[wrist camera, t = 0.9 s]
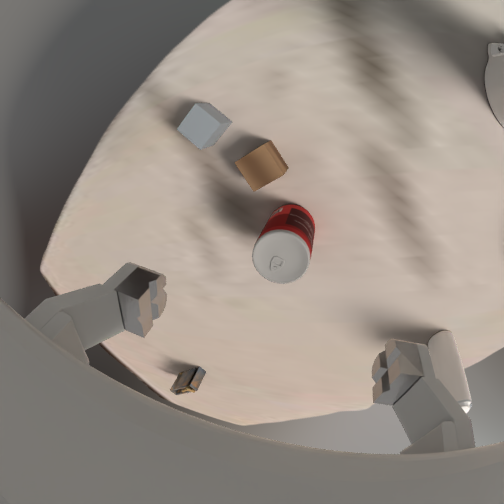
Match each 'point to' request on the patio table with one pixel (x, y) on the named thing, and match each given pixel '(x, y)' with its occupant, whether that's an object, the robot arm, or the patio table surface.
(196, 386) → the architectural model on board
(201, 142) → the grey block
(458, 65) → the patio table surface
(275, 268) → the canned food
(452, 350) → the white bottle
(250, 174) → the walnut block
